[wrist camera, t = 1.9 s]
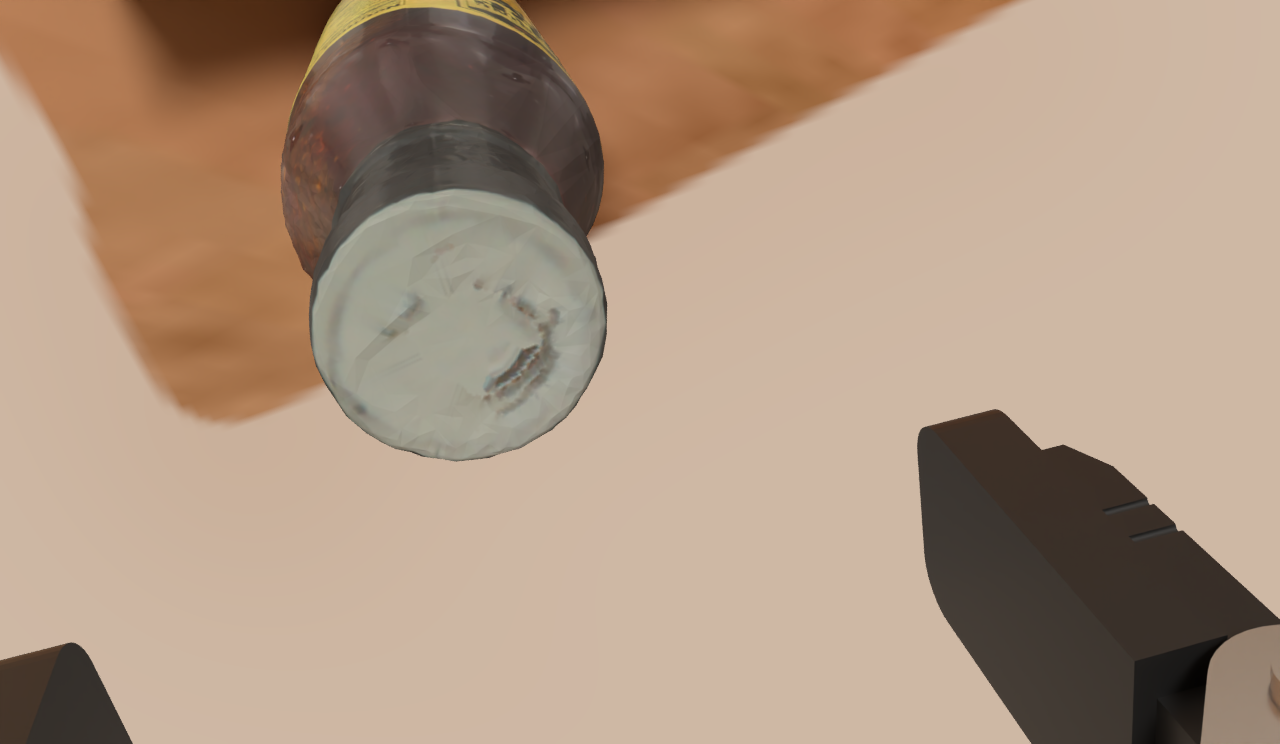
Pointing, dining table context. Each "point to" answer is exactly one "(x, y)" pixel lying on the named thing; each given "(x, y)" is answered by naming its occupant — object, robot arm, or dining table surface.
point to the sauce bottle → (446, 224)
